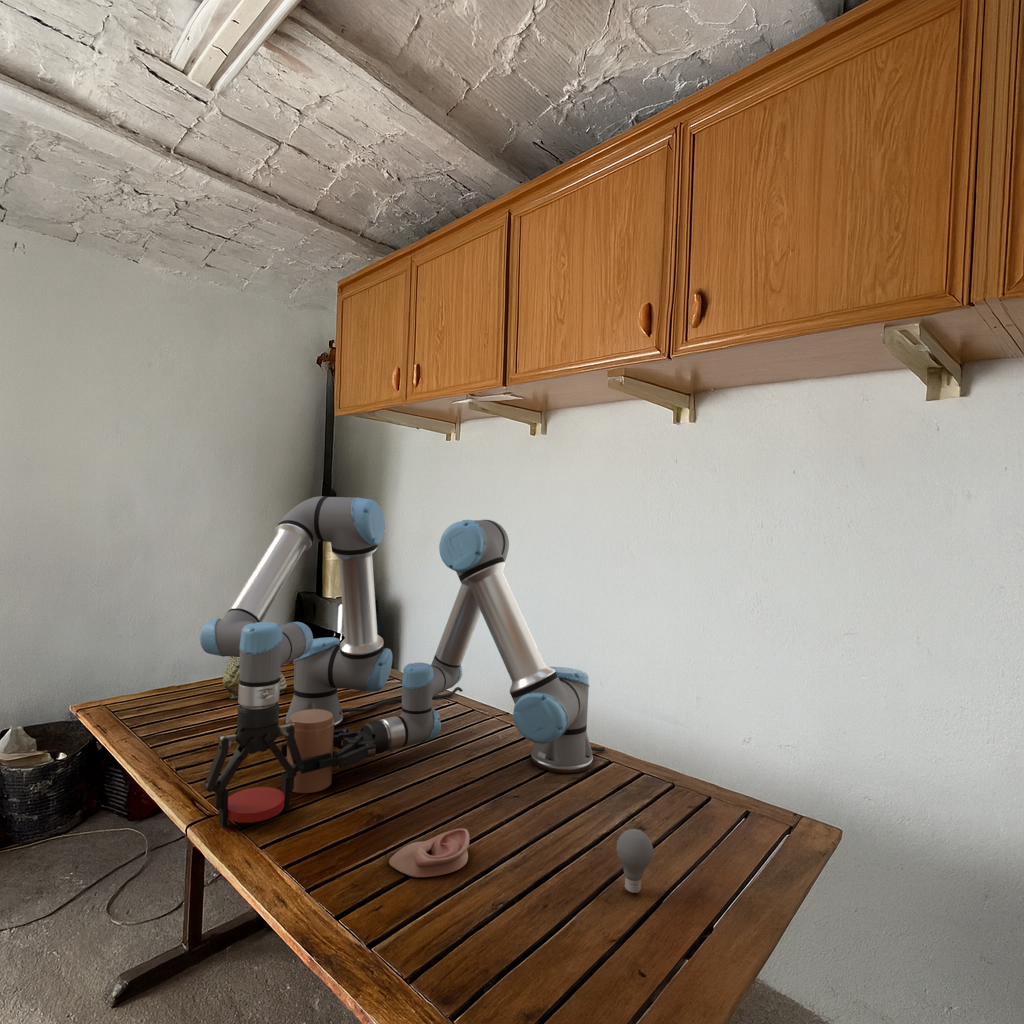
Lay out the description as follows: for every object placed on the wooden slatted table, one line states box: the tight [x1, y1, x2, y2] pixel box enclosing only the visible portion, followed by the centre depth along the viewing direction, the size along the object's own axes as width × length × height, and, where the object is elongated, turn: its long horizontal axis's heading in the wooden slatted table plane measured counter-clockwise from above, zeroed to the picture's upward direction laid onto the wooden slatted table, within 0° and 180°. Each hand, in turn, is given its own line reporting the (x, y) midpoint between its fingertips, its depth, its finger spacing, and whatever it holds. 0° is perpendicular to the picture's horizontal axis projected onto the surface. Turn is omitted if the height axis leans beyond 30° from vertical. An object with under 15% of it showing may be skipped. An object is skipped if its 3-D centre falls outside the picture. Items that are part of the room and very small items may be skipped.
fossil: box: [222, 656, 288, 699], centre depth 198 cm, size 9×18×15 cm, turn 132°
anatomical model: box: [388, 827, 470, 878], centre depth 112 cm, size 13×4×12 cm
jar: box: [286, 709, 335, 794], centre depth 140 cm, size 10×10×15 cm
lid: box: [227, 786, 285, 824], centre depth 124 cm, size 11×11×2 cm
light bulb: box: [615, 828, 654, 894], centre depth 106 cm, size 6×6×10 cm
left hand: (254, 815), depth 124 cm, fingers closed on lid, 11 cm apart
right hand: (291, 758), depth 137 cm, fingers closed on jar, 10 cm apart
